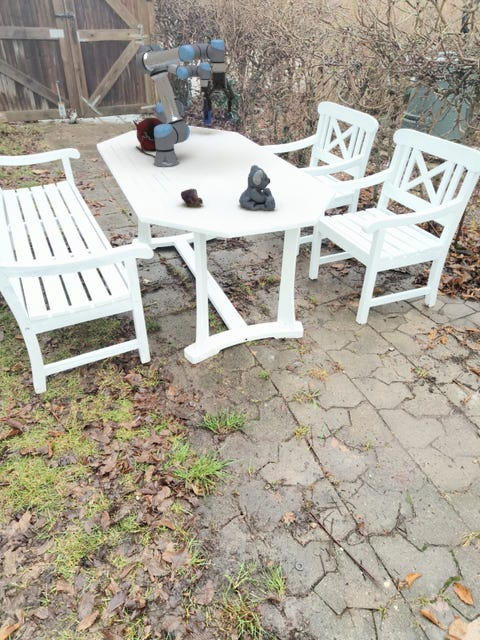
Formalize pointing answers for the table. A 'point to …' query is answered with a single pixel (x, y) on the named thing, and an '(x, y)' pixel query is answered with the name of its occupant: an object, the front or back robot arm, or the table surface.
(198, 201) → the rock
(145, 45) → the back robot arm
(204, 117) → the can
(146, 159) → the table surface
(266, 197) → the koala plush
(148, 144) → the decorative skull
